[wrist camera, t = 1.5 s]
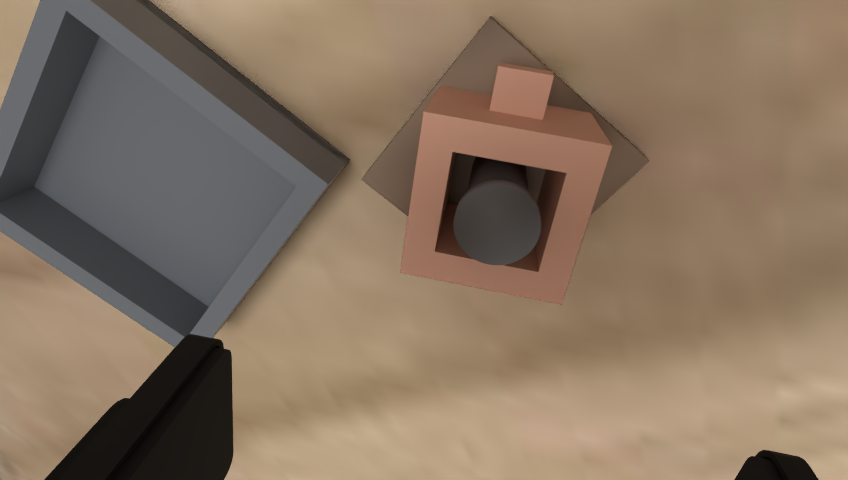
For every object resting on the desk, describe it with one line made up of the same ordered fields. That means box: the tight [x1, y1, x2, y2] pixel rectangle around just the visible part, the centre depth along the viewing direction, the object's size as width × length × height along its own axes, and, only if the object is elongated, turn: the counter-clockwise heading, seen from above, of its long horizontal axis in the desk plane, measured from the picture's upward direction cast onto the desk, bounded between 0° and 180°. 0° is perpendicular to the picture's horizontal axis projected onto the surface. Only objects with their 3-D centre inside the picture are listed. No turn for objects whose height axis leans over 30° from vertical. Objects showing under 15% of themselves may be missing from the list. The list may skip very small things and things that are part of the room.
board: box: [362, 16, 649, 265], centre depth 21 cm, size 9×9×7 cm
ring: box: [400, 62, 612, 305], centre depth 21 cm, size 6×8×5 cm
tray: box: [0, 0, 350, 347], centre depth 26 cm, size 13×13×4 cm
